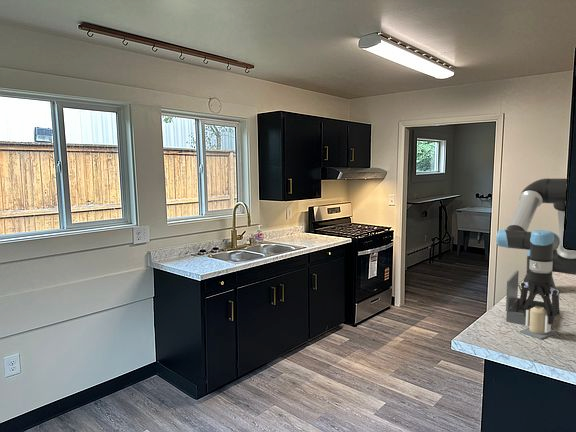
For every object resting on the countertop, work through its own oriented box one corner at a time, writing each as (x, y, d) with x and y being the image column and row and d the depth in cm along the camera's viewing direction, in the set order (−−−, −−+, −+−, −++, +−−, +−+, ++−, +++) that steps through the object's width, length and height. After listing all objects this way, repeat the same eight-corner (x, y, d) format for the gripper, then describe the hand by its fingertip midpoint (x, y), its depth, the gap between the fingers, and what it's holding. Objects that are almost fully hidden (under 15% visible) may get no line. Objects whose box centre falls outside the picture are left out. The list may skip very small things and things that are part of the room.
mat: (534, 327, 163) (534, 325, 163) (555, 334, 156) (555, 332, 156) (519, 332, 158) (519, 330, 158) (540, 339, 151) (540, 338, 151)
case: (515, 306, 188) (516, 269, 186) (551, 312, 178) (553, 274, 177) (504, 321, 170) (506, 281, 168) (545, 329, 161) (547, 286, 159)
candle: (534, 334, 154) (536, 309, 153) (526, 329, 160) (527, 304, 159) (549, 334, 154) (550, 309, 153) (539, 328, 160) (541, 304, 159)
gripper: (510, 267, 161) (507, 322, 164) (562, 277, 144) (559, 339, 147) (521, 264, 165) (519, 318, 167) (573, 275, 148) (570, 335, 150)
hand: (537, 328), depth 157 cm, fingers open, 7 cm apart
